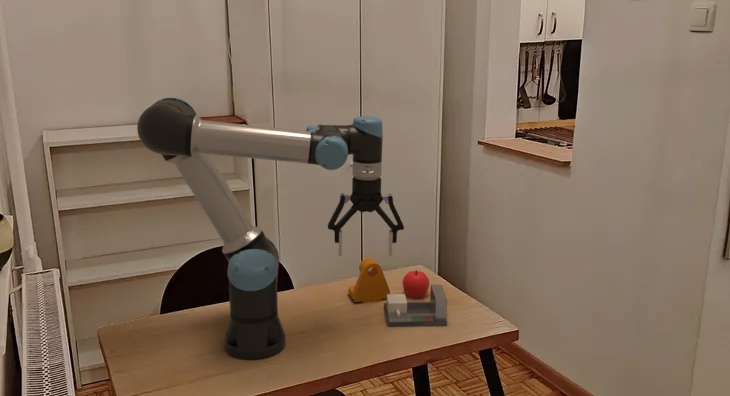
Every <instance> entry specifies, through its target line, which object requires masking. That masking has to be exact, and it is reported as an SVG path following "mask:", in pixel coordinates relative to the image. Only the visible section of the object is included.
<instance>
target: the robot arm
mask: <svg viewBox="0 0 730 396" xmlns="http://www.w3.org/2000/svg"><path fill="white" fill-rule="evenodd" d="M136 129H137V135H138V138H139V140H140V141H141V142H140V143H142V145H143V146H144V147H145V148H147V149H148V150H150V151H151V152H152V153H156V154H160V155H161V156H162V159H164V160H165V162H166V163H169V164H173V165H175V166H176V168H177V170H178V171H179V173H180V175H181V176H182V178H183V179H184V181H185V182H186V184H187V186H188V188H189V189H190V191H191V192H192V194H193V195H194V197H195V199H196V201H197V202H198V204H199V205H200V207H201V209H202V210H203V211H204V213H205V215H206V217H207V218H208V219H209V221H210V223H211V224H212V226H213V228H214V230H215V231H216V232H217V234H218V236H219V237H220V239H221V241H222V243H223V246H222V249H221V252H222V254H223V256H224V257H225V259H226V260H227V261H228V264H227V266H228V267H227V272H226V273H227V278H228V292H229V295H228V296H229V313H230V315H229V316H230V318H229V322H228V326H227V329H226V332H225V336H224V349H225V351H226V353H227V354H229V355H230V356H232V357H235V358H237V359H242V360H260V359H265V358H269V357H273V356H274V355H277V354H279V353H280V352H281V351H283V349H284V348H285V346H286V344H287V343H286V338H287V337H286V332H285V329H284V327H283V325H282V322H281V319H280V317H279V313H278V311H279V309H278V275H279V265H280V255H279V254H280V253H279V251H278V248H277V247H276V244H274V242H273V241H272V240H271V239H270V238H269V237H267V236H266V234H265V233H264V231H263V229H262V228H261V227H259V226H254V225H253V224H252V222H251V221H250V219H249V218H248V216H247V214H246V212H245V210H244V209H243V208H242V206H241V205H240V203H239V201H238V199H237V198H236V196H235V194H234V192H233V191H232V189H231V188H230V186H229V184H228V183H227V181H226V179H225V177H224V176H223V174H222V173H221V171H220V170H219V167H218V166H217V164H216V162H215V161H214V159H213V157H212V156H211V155H217V156H226V157H227V156H228V157H236V158H237V157H239V158H247V159H255V160H266V161H278V162H287V163H296V164H297V163H298V164H307V165H308V164H309V165H317V166H320V167H322V168H323V169H325V170H329V171H334V170H338V169H340V168H342V167H343V166H344V165H345V164H346V162H347V159H348V158H349V157H348V156H350V155H352V172H351V173H352V176H353V177H352V182H351V183H352V186H351V194H350V195H349V194H345V193H340V196H339V202H338V204H337V206H336V208H335V209H334V211H333V213H332V216H331V218H330V219H329V221H328V223H327V229H328V230H331V231H333V232H334V243H335V244H338V256H339V257H342V256H343V249H342V247H343V245H342V244H343V240H342V239H343V237H342V236H343V229H342V228H343V227H344V226H345V225H346V224H347V223H348V221H350V219H351V218H352V217H353V216H354V215H355V214H356V213H357V212H360V213H365V212H368V213H373V212H374V211H375V212H376V213H377V214H378V215H379V217H380V218H381V219H382V220H383V221H384V222H385V223H386V225H387V227H389V228H390V229H388V256H392V257H393V244H396V243H397V241H398V240H397V239H398V231H399V232H400V231H403V230H404V229H405V226H404V223H403V221H402V219H401V217H400V215H399V213H398V210H397V208H396V206H395V204H394V198H393V195H392V193H388V194H387V195H382V178H381V176H382V166H383V165H382V159H383V137H384V135H383V121H382V120H381V119H380V118H379V117H377V116H371V115H370V116H366V115H365V116H364V115H363V116H356V117H353V121H352V124H348V125H344V124H316V125H315V124H312V125H308V126H307V127H306V129H305V131H304V130H296V129H288V128H287V129H286V128H276V127H268V126H261V125H260V126H259V125H249V124H240V123H231V122H222V121H216V120H215V121H213V120H205V119H204V120H203V119H202V118H200V116H199V115H198V114H197V112H196V111H195V108H194V106H192V105H191V104H190V103H189V102H187V101H186V100H184V99H182V98H178V97H164V98H162V99H159V100H157V101H156V102H154V103H152V105H150V106H149V107H147V108H146V109H145V110H143V112H142V113H141V115H140V116H139V118H138V120H137V128H136ZM349 201H350V202H351V203H352V205H351V207H350V208H349V209H348V211H347V212H346V213H345V214H344V215H343V216H342V217H341V218H340V220H339V221H338V222H337V220H338V218H339V217H340V215H341V212H342V210H343V209H344V206H345V204H347V203H348V202H349ZM383 201H384V202H385V204H387V205H388V206H389V209H390V211H391V213H392V216H393V217H394V220H395V222H396V223H397V224H395V223H394V221H392V219H391V218H390V217H389V215H388V214H387V213H386V212H385V211H384V210H383V208H382V207H381V204H382V202H383ZM336 222H337V223H336ZM335 223H336V224H335Z"/></svg>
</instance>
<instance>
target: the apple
mask: <svg viewBox="0 0 730 396" xmlns="http://www.w3.org/2000/svg"><path fill="white" fill-rule="evenodd" d="M402 287H403V292H404V294H405V295H407V296H408V297H410V298H412V299H420V298H423V297H424V296H426V295H427V294H428V291H429V287H430V279H429V278H428V276H427V275H426V274H425V272H423V271H420V270H418V269H416V270H412V271H408V272H407V273H406V274H405V276H404V277H403V279H402Z"/></svg>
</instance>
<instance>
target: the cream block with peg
mask: <svg viewBox="0 0 730 396" xmlns="http://www.w3.org/2000/svg"><path fill="white" fill-rule="evenodd" d="M386 302H387V312H388V317H389V314H397V316H400V314H407V302H408V301H407V297H406V293H394V294H393V293H390V294H387V298H386Z"/></svg>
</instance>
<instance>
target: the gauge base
mask: <svg viewBox="0 0 730 396" xmlns="http://www.w3.org/2000/svg"><path fill="white" fill-rule="evenodd" d="M429 293H430V296H429V301H426V300H425V301H420V300H419V301H407V314H400V316H397V314H389V317H388V312H387V301H386V302H384V303H383V309H384V316H385V321H386V326H387V327H388V328H389V327H446V326H447V325H448V321H447V314H448V298H447V295H446V293H445V290H444V288H443V284H430V291H429Z"/></svg>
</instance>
